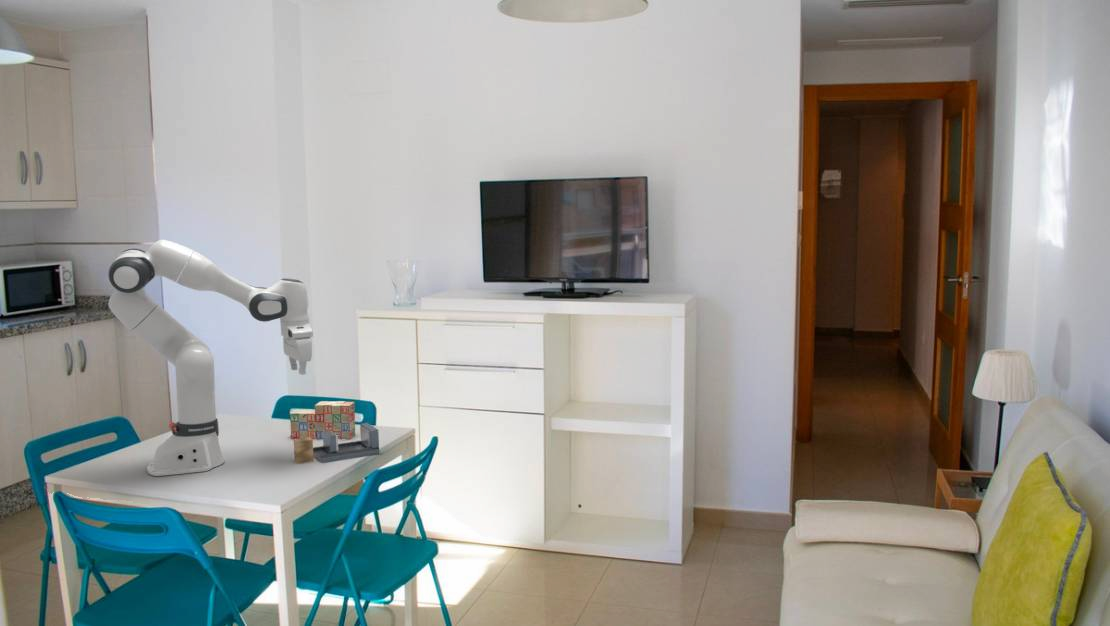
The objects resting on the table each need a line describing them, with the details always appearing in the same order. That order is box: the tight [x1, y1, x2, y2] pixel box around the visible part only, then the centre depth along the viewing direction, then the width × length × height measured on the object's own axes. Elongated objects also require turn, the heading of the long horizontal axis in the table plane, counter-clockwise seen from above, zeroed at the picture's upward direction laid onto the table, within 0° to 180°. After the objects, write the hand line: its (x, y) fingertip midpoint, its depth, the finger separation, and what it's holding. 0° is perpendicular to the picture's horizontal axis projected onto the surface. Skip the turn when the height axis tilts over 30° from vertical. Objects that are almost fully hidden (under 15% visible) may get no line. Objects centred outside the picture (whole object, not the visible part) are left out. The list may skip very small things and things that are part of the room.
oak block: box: [293, 437, 315, 464], centre depth 289 cm, size 5×4×7 cm
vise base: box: [313, 422, 380, 463], centre depth 296 cm, size 19×11×8 cm, turn 120°
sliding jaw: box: [322, 430, 339, 453], centre depth 293 cm, size 2×8×6 cm, turn 30°
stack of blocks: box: [289, 400, 356, 441], centre depth 318 cm, size 21×6×12 cm, turn 85°
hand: (298, 372), depth 291 cm, fingers open, 8 cm apart
